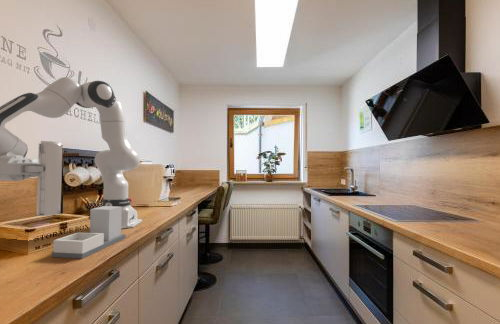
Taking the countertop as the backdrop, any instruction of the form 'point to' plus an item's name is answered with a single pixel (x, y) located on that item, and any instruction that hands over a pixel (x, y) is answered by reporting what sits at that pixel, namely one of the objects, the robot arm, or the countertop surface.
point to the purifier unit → (92, 234)
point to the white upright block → (49, 178)
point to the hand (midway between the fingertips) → (52, 168)
